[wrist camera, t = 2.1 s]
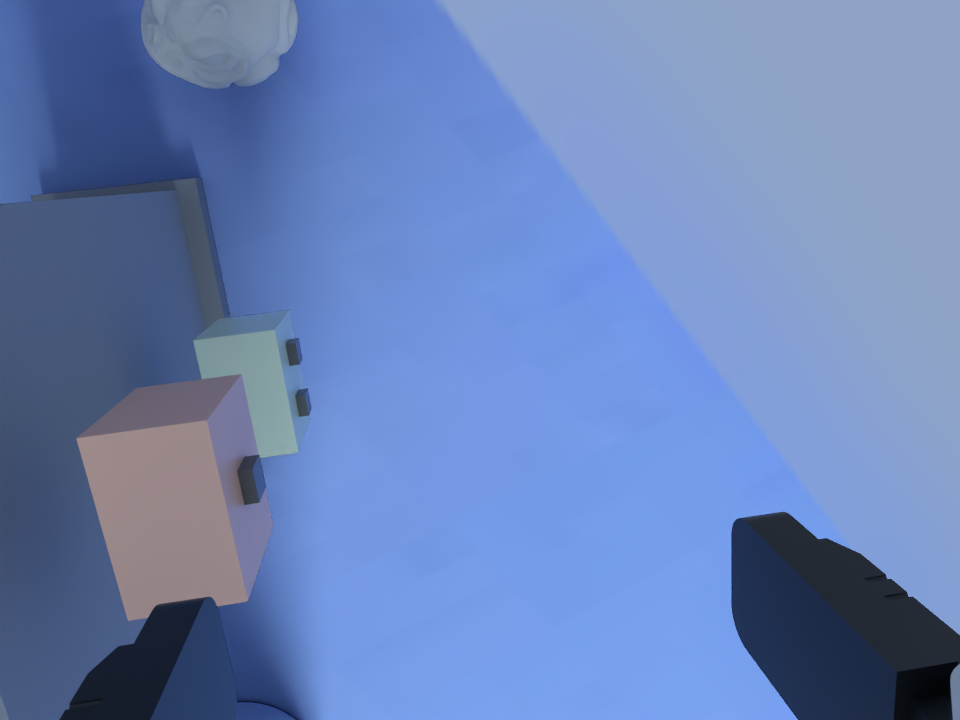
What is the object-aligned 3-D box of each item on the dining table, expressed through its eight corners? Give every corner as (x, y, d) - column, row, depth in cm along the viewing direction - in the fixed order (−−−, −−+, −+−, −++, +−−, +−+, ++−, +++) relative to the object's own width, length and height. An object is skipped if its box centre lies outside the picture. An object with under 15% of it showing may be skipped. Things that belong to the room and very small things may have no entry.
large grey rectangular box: (201, 177, 37) (-122, 186, 14) (262, 473, 41) (98, 852, 18) (42, 194, 36) (-580, 234, 13) (122, 494, 41) (-231, 914, 18)
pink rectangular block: (255, 371, 21) (224, 417, 17) (286, 524, 22) (263, 599, 18) (136, 387, 20) (76, 438, 16) (174, 541, 22) (127, 621, 18)
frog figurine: (144, 22, 35) (85, -14, 28) (253, -70, 34) (219, -129, 27) (230, 126, 36) (194, 116, 30) (335, 39, 36) (322, 9, 29)
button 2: (299, 308, 30) (285, 328, 26) (318, 417, 31) (308, 451, 28) (218, 318, 30) (192, 340, 26) (242, 427, 31) (220, 463, 27)
